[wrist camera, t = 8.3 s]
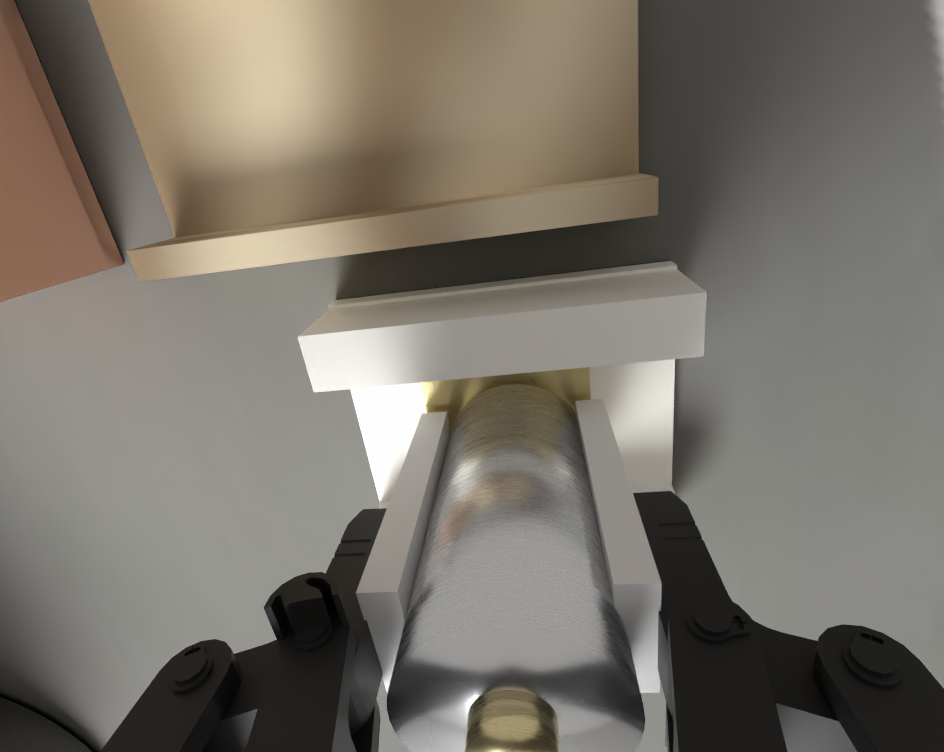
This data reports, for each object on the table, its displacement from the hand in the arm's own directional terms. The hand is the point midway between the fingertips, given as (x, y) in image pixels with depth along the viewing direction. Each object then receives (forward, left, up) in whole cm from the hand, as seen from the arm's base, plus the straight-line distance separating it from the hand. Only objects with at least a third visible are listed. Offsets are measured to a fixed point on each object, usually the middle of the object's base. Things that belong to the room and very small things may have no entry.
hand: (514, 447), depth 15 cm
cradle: (0, 0, -2) cm, 2 cm away
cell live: (0, 0, 0) cm, 0 cm away
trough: (-3, +10, -2) cm, 11 cm away
